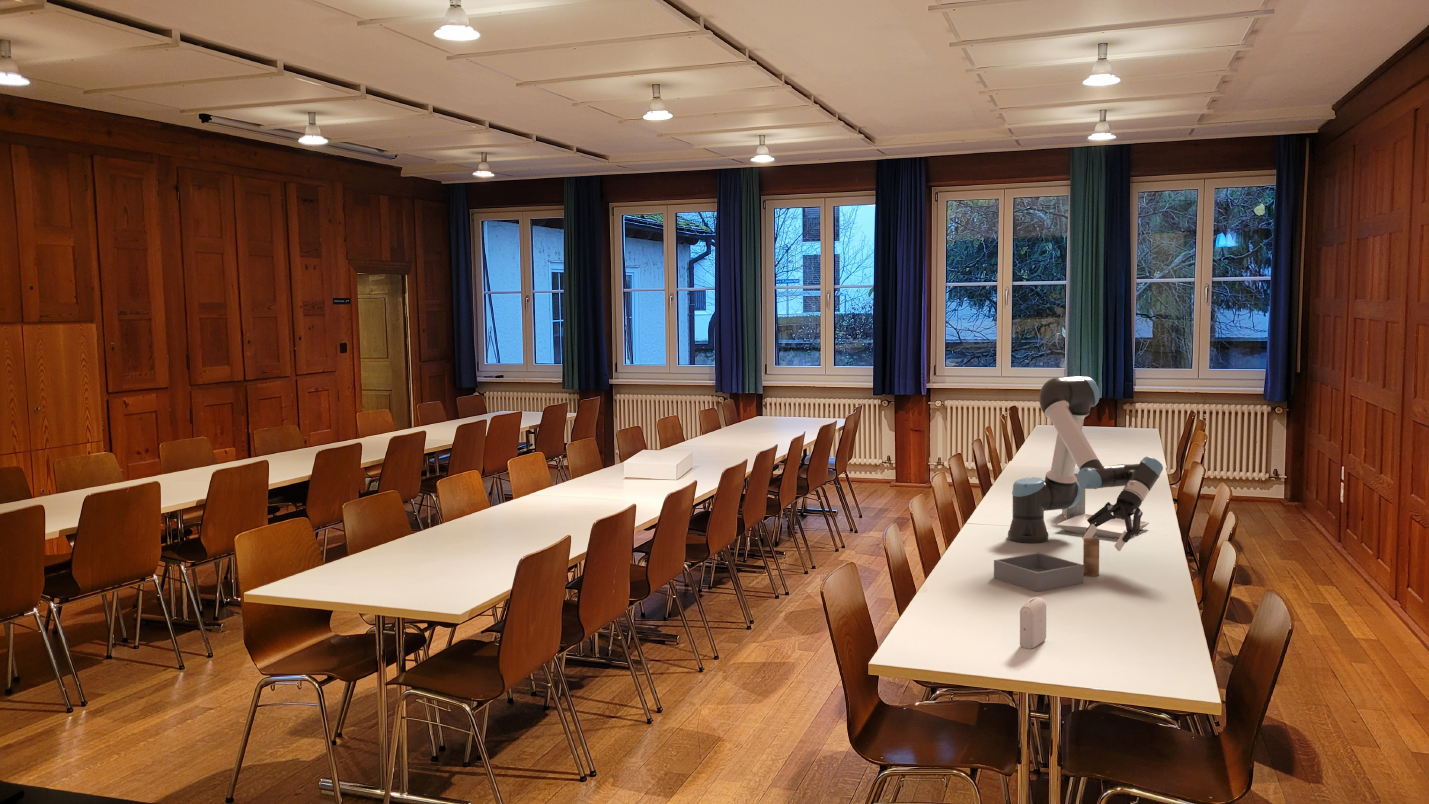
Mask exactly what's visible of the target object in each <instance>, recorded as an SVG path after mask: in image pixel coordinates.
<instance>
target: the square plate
mask: <svg viewBox="0 0 1429 804" xmlns="http://www.w3.org/2000/svg"><path fill="white" fill-rule="evenodd" d="M1092 515H1093V514H1090V513H1089V514H1088V513H1085V514H1082V515H1079V516H1076V517H1073V518H1070V519H1068V520H1066V519H1065V520H1063V521H1061V522H1059V523H1057V524H1056V526H1057V527H1059V528H1060V529H1061V530H1064V531H1066V532H1071V533H1075V534H1082V535H1085V533H1086V530H1087V528H1088V527H1089V525H1090V524H1089V522H1088V521H1087V519H1089V518H1090V517H1091V516H1092ZM1131 523H1132V527H1133V518H1131ZM1095 524H1096V523H1095ZM1149 524H1150V522H1149V521H1144V520H1140V530H1142V529H1144V528H1146V527H1147V526H1148V525H1149ZM1096 528H1097V530H1096V532H1095V534H1094V535H1093V536H1096V537H1103V538H1110V539H1119V538H1120V536H1121V535H1122V533H1123V531H1126V525H1125V520H1122V519H1117V518H1115V519H1111V520H1109V521H1107V522H1105V523H1103V524H1101V525H1100V526H1098V527H1096ZM1126 532H1127V531H1126Z"/></svg>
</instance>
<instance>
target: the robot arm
mask: <svg viewBox="0 0 1429 804" xmlns="http://www.w3.org/2000/svg"><path fill="white" fill-rule="evenodd" d="M1100 394H1101V393H1100V389H1099V386H1098V385H1097V382H1096V381H1095V380H1094V379H1093V378H1091V376H1090V377H1089V376H1080V375H1077V376H1067V377H1064V376H1063V377H1053V378H1051V379H1050V378H1049V380H1047V381H1045V382H1044V384H1043V385H1042V386H1041V389H1040V391H1039V395H1038V399H1039V400H1038V401H1039V406H1040V409H1041V411H1042V413H1043V415H1044V417H1046V418H1048V419H1050V421H1051V423H1052V424H1053V426H1054V428H1055V430H1056V432H1057V434H1056V439H1055V445H1054V449H1053V450H1054V451H1053V456H1052V462H1051V468H1050V470H1049V471H1047V472H1046V473H1045V478H1044V479H1043V478H1041V477H1037V476H1036V477H1025V478H1024V477H1023V478H1019V479H1017V480H1015V481H1014V483H1013V485H1012V492H1011V494H1012V520H1011V523H1010V526H1009V530H1008V531H1007V539H1008V540H1010V541H1013V542H1018V543H1027V544H1037V543H1039V544H1040V543H1045V542H1047V541H1049V532H1048V531H1047V526H1046V523H1045V517H1044V516H1045V512H1048V511H1056V510H1057V511H1058V510H1061V511H1062V510H1063V509H1067V508H1072V507H1074V506H1075V505H1076V504H1077V503H1078V502H1079V500H1080V496H1081V489H1080V485H1081V487H1083V488H1085V490H1098V489H1103V488H1105V489H1106V488H1117V487H1118V488H1119V487H1123V488H1122V491H1120V493H1119V495H1118V496H1117V498H1116V502H1115V503H1114V504H1111V502H1106V503H1105V504H1104V506H1103V507H1101V508H1100V509H1099V510H1098V511H1096V512H1095V513H1094V514H1091V515H1092V516H1091V517H1090V518H1089V519H1087V521H1088V522H1089V524H1090V525H1089V527H1088V528H1087V530H1086V533H1085V534H1083V536H1082V540H1083V541H1084V539H1085V538H1094V537H1093V536H1095V535H1094V534H1095V532H1096V530H1097V528H1096V527H1098V526H1100V525H1101V524H1103V523H1105V522H1107V521H1109V520H1111V519H1115V518H1117V519H1122V520H1125V525H1126V531H1127V532H1126V531H1123V533H1122V535H1121V536H1120V538H1117V541H1116V542H1115V544H1114V545H1113V546H1114V548H1115V549H1116V550H1117V551H1118V552H1121V551H1122V549H1123V548H1124V546H1125V544H1126V543H1128V542H1129V540H1130V538H1131V537H1132V536H1138V535H1140V530H1141V529H1140V521H1142V520H1141V519H1142V516H1143V514H1144V513H1143V511H1142V510H1141V509H1140V507H1141V506H1142V504H1143V502H1144V500H1145V499H1146V497H1147V496H1148V494H1149V492H1150V491H1151V490H1152V488H1153V486H1155V483H1156V482H1157V480H1158V479H1159V478H1160V475H1161V473H1162V472H1163V470H1164V465H1163V464H1162V463H1161V461H1159V460H1158V459H1157V458H1154V457H1152V456H1144V457H1143V458H1142V459H1141V460H1140V461H1139V463H1134V464H1130V463H1129V464H1124V463H1123V464H1121V463H1120V464H1113V465H1103V464H1102V462H1101V461H1100V460H1099V458H1098V456H1097V454H1096V453H1095V451H1094V449H1093V447H1092V446H1091V444H1090V442H1089V441H1088V439H1087V437H1086V435H1085V434H1084V432H1083V427H1084V422H1085V421H1084V420H1085V418H1086V417H1088V416H1089V415H1090V413H1091V408H1094V407H1096V405H1097V404H1098V403H1099V402H1100V401H1099V400H1100V397H1101V395H1100ZM1076 466H1077V469H1079V470H1080V471H1079V472H1078V479H1079V481H1078V482H1079V483H1078V482H1077V478H1076V477H1075V475H1074V470H1075V469H1076ZM1079 484H1080V485H1079ZM1131 516H1132V517H1133V518H1132V517H1131ZM1131 519H1132V520H1133V527H1132V523H1131ZM1095 523H1096V524H1095Z"/></svg>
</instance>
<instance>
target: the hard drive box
mask: <svg viewBox="0 0 1429 804" xmlns="http://www.w3.org/2000/svg"><path fill="white" fill-rule="evenodd" d="M1079 471H1080V470H1079V468H1075V470H1074V475H1075V477H1076V478H1077V482H1078V481H1079V479H1078V472H1079ZM1078 483H1079V482H1078ZM1079 485H1080V484H1079ZM1080 489H1081V496H1080V500H1079V502H1078V503H1077V504H1076V505H1075V506H1074V507H1072V508H1067V509H1063V510H1062V509H1061V514H1062V515H1063V516H1064V518H1065V520H1068V519H1070V518H1073V517H1076V516H1079V515H1082V514H1086V489H1085V488H1083V487H1081V485H1080Z"/></svg>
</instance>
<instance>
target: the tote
mask: <svg viewBox="0 0 1429 804" xmlns="http://www.w3.org/2000/svg"><path fill="white" fill-rule="evenodd" d="M993 578H994V579H996V580H999V581H1002V582H1003V581H1004V582H1006V583H1009V584H1013V585H1014V586H1015V585H1016V586H1018V587H1021V588H1024V589H1028V590H1030V591H1034V592H1039V593H1040V592H1043V591H1048V590H1054V589H1059V588H1065V587H1068V586H1069V587H1070V586H1075V585H1081V584H1083V583H1084V575H1083V563H1082V564H1081V563H1079V562H1074V561H1070V560H1067V559H1063V558H1061V557H1057V556H1053V555H1050V554H1049V555H1048V554H1045V553H1042V552H1034V553H1033V552H1032V553H1028V554H1023V555H1022V554H1021V555H1017V556H1011V557H1005V558H999V559H995V560H993Z"/></svg>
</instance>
